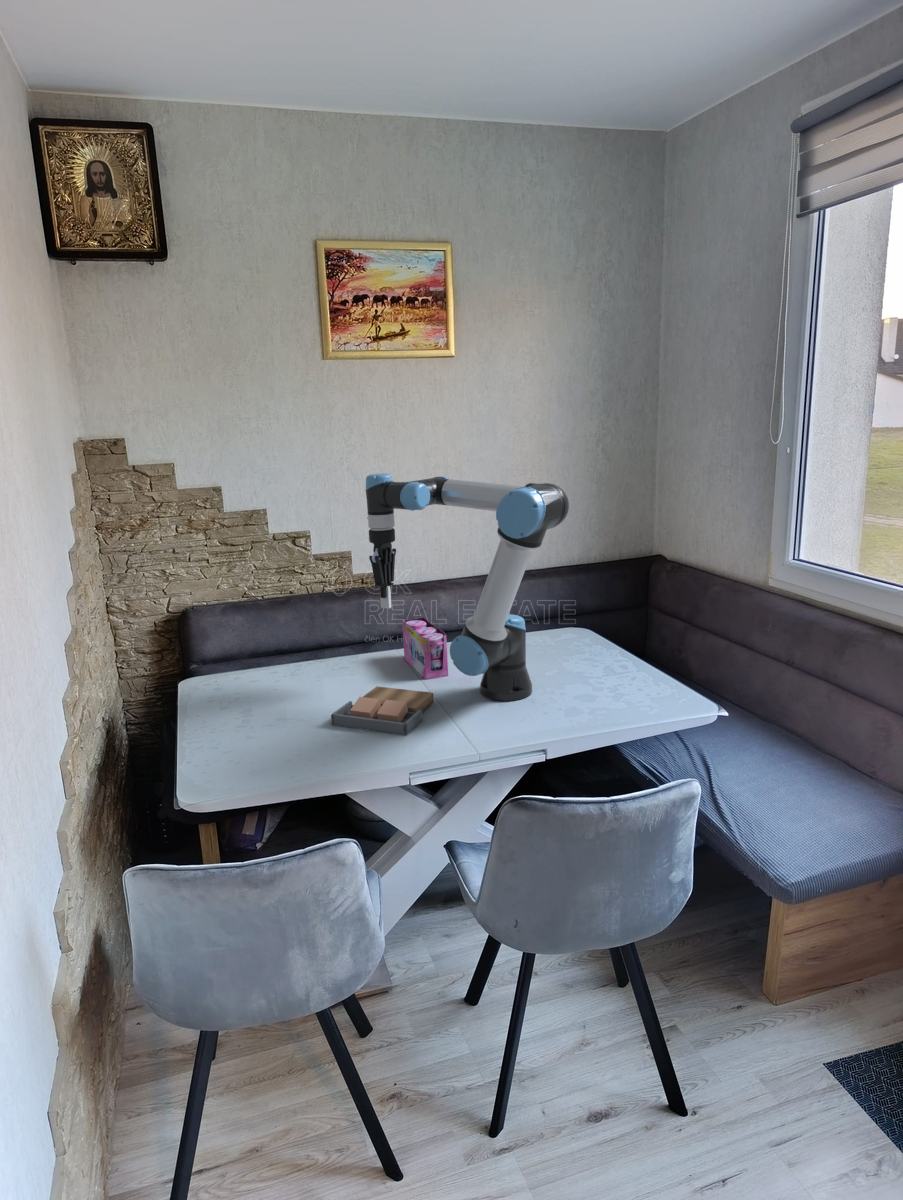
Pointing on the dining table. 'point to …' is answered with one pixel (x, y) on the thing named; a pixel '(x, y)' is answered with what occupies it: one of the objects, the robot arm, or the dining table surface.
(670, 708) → the dining table surface
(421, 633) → the gum box
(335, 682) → the dining table surface
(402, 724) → the tray
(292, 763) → the dining table surface
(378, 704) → the tile
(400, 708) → the tile
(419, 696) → the brown wooden board
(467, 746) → the dining table surface
